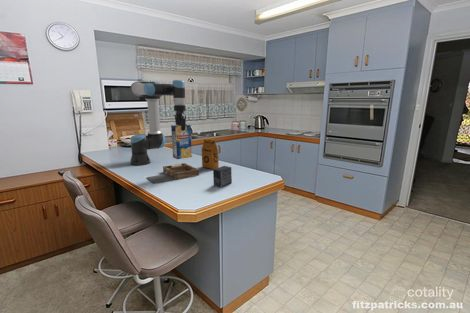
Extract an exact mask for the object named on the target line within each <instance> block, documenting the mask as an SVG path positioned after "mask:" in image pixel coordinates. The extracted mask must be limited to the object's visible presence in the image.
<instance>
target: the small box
mask: <svg viewBox="0 0 470 313" xmlns="http://www.w3.org/2000/svg"><path fill="white" fill-rule="evenodd" d="M212 174H213V186H215V187H218V188H223V187H225V186H228V185H230V184H232V183H233V182H232V175H233V174H232V166H227V165H223V166H219V168H216V169H212Z"/></svg>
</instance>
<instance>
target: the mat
mask: <svg viewBox="0 0 470 313" xmlns="http://www.w3.org/2000/svg"><path fill="white" fill-rule="evenodd" d="M146 179H147V180H148V181H149V182H150V183H152V184H154V185H155V184H160V183H161V184H162V183H165V182H171V181H176V179H175V178H173V177H171V176H170V175H168V174H166V173H163V174H158V175H153V176H146Z"/></svg>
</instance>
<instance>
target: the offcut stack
mask: <svg viewBox="0 0 470 313" xmlns="http://www.w3.org/2000/svg"><path fill="white" fill-rule="evenodd" d="M177 164H178V165H176V164H171V168H173V167H179V166H182V165H181V164H182V163H177Z"/></svg>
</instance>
